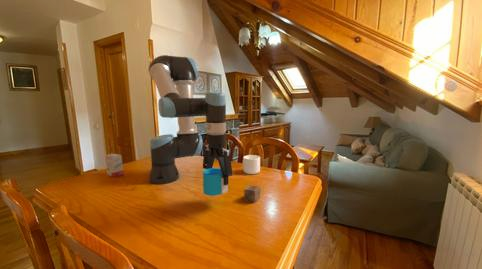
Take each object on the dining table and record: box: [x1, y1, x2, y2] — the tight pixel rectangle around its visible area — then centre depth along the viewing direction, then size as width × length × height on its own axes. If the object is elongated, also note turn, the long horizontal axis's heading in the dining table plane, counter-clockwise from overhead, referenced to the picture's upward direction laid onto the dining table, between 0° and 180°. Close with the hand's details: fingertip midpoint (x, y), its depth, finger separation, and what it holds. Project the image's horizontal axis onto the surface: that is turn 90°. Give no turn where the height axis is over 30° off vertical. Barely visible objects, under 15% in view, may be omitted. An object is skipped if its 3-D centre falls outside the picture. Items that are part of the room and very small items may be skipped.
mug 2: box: [242, 154, 261, 175], centre depth 122 cm, size 12×10×9 cm
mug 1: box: [202, 167, 223, 197], centre depth 83 cm, size 12×8×8 cm
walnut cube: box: [243, 184, 261, 204], centre depth 87 cm, size 5×5×5 cm
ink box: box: [104, 153, 124, 178], centre depth 117 cm, size 9×5×12 cm, turn 58°
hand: (217, 188), depth 84 cm, fingers closed on mug 1, 8 cm apart
